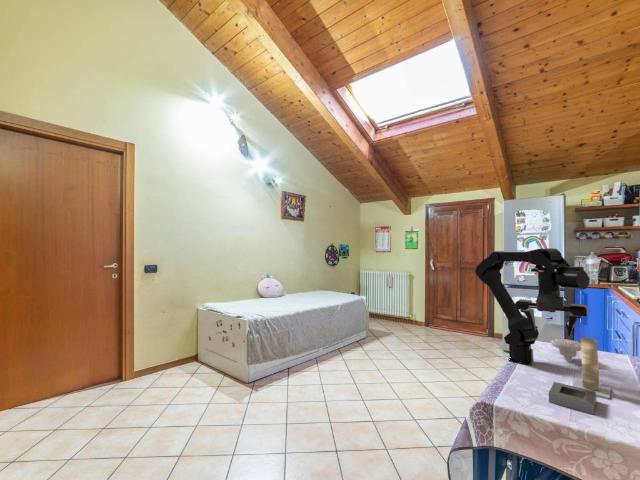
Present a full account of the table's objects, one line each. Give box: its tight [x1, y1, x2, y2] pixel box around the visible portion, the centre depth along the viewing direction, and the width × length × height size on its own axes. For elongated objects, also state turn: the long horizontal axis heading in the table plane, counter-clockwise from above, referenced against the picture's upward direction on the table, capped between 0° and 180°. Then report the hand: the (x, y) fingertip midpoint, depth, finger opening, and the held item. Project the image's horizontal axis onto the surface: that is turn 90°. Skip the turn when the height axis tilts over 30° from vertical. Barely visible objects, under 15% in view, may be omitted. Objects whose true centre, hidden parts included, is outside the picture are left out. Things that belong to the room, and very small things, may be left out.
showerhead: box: [550, 336, 581, 362], centre depth 110 cm, size 9×7×10 cm
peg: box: [580, 337, 600, 391], centre depth 88 cm, size 4×4×14 cm
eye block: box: [548, 381, 597, 415], centre depth 81 cm, size 9×9×2 cm
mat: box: [572, 379, 612, 400], centre depth 87 cm, size 8×8×1 cm
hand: (551, 333), depth 100 cm, fingers open, 9 cm apart
